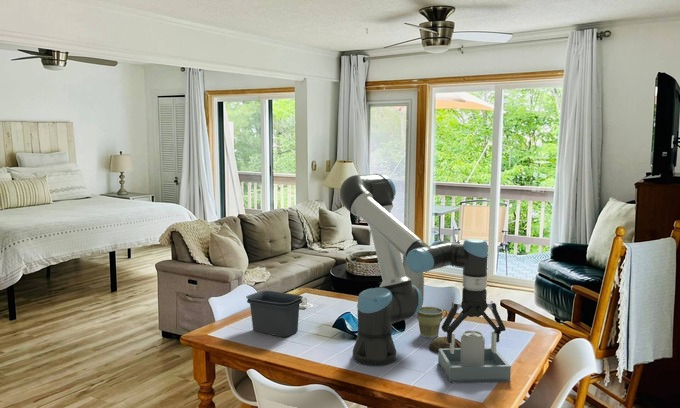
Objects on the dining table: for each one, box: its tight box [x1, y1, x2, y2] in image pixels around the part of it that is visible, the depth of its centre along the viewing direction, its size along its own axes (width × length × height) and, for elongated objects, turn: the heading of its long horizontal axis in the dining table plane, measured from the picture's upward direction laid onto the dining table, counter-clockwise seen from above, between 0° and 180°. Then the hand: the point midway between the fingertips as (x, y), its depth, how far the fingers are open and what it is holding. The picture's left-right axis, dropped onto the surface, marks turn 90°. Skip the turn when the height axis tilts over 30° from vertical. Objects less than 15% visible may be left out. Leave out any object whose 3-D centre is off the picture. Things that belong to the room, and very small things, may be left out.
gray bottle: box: [402, 254, 425, 307], centre depth 243 cm, size 10×10×28 cm
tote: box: [437, 347, 512, 384], centre depth 179 cm, size 19×16×5 cm
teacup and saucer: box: [299, 296, 314, 309], centre depth 254 cm, size 9×8×4 cm
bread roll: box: [428, 336, 461, 353], centre depth 199 cm, size 13×12×5 cm
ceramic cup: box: [416, 306, 448, 339], centre depth 214 cm, size 13×10×10 cm
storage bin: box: [245, 290, 304, 338], centre depth 219 cm, size 21×16×14 cm
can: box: [460, 330, 486, 366], centre depth 178 cm, size 8×8×12 cm
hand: (472, 352), depth 179 cm, fingers open, 13 cm apart
